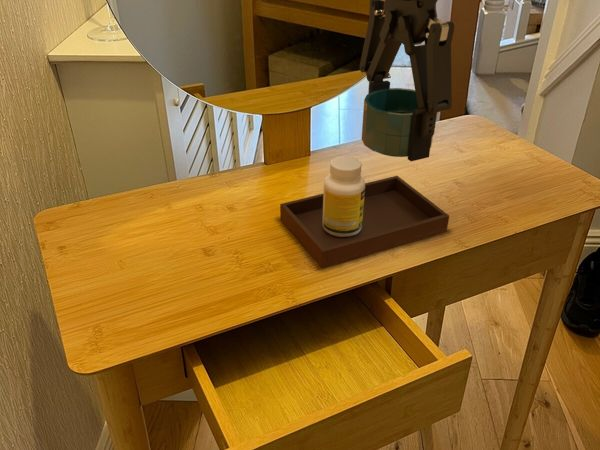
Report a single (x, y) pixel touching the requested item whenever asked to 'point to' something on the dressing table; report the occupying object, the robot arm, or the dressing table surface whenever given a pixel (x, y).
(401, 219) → the tray
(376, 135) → the cup
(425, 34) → the robot arm
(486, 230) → the dressing table surface
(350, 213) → the supplement bottle
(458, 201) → the dressing table surface
